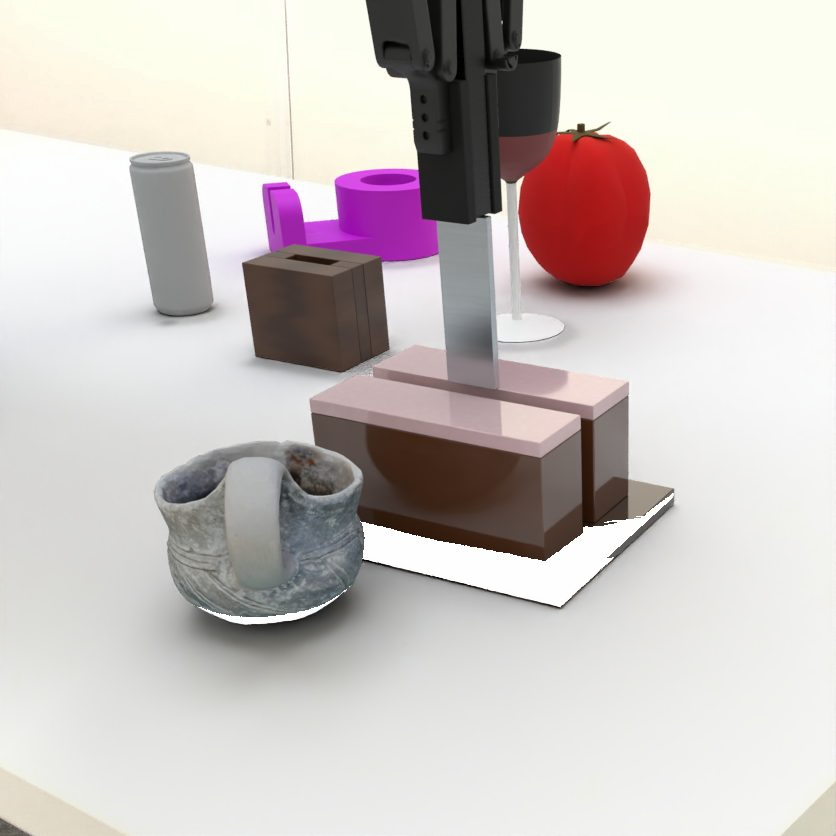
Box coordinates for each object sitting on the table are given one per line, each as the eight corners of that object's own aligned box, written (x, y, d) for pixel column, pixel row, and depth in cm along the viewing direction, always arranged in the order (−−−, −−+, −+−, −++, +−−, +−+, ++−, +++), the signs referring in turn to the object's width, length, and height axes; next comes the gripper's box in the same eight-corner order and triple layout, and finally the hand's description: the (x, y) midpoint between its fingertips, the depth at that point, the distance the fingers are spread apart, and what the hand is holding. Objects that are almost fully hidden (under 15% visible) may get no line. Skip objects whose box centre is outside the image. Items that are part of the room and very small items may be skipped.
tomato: (530, 305, 111) (524, 139, 105) (513, 266, 122) (507, 113, 115) (665, 298, 113) (668, 135, 107) (637, 261, 124) (638, 110, 117)
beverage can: (178, 297, 113) (153, 149, 107) (227, 303, 111) (204, 153, 105) (142, 313, 109) (113, 160, 103) (192, 319, 107) (166, 164, 101)
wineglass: (453, 340, 103) (434, 62, 93) (484, 308, 111) (470, 47, 100) (552, 347, 102) (545, 65, 92) (577, 314, 109) (573, 50, 99)
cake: (273, 538, 73) (253, 404, 69) (415, 450, 84) (405, 330, 80) (560, 608, 67) (556, 465, 63) (674, 503, 78) (677, 375, 74)
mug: (352, 549, 72) (332, 372, 67) (412, 660, 62) (394, 462, 57) (168, 581, 69) (131, 397, 64) (200, 704, 59) (161, 498, 54)
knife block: (255, 356, 100) (241, 262, 96) (305, 334, 104) (293, 243, 101) (342, 372, 97) (331, 276, 93) (389, 348, 102) (381, 256, 98)
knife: (440, 385, 71) (411, -7, 62) (458, 375, 73) (433, -10, 63) (489, 394, 70) (467, -4, 61) (506, 384, 72) (487, -8, 62)
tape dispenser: (429, 230, 133) (425, 165, 130) (458, 254, 125) (454, 185, 122) (267, 246, 127) (258, 178, 124) (287, 272, 120) (278, 200, 116)
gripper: (400, -402, 48) (445, 258, 60) (590, -352, 59) (596, 193, 71) (234, -390, 51) (310, 239, 62) (447, -343, 62) (476, 180, 74)
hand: (462, 214), depth 67 cm, fingers closed on knife, 2 cm apart
